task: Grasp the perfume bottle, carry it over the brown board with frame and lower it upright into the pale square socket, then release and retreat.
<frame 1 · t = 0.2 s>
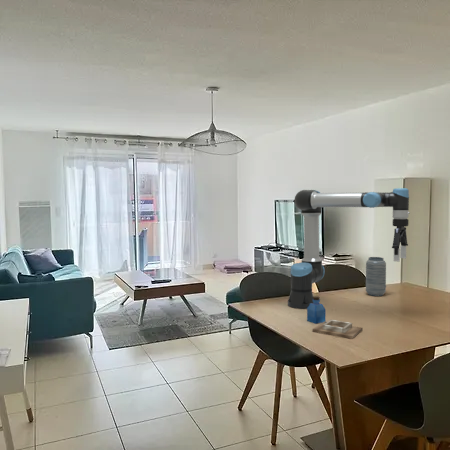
hand: (399, 259, 213), 28 cm above the table, fingers open, 13 cm apart
vase: (375, 295, 257), on the table
perfume bottle: (316, 321, 202), on the table
brown board with frame: (337, 331, 187), on the table
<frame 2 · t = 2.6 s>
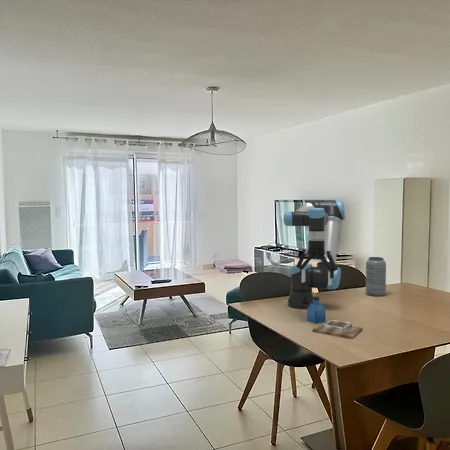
hand: (316, 283, 201), 19 cm above the table, fingers open, 13 cm apart
nothing on the table moved.
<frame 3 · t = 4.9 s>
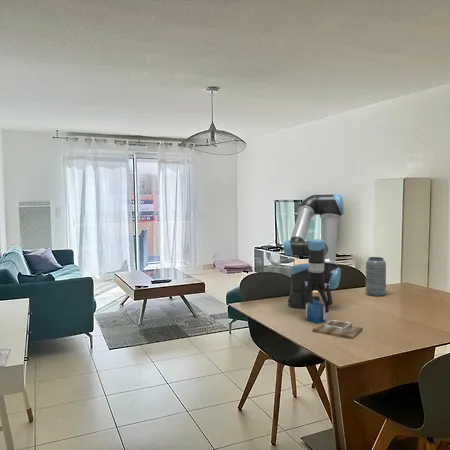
hand: (316, 317, 202), 2 cm above the table, fingers closed on perfume bottle, 8 cm apart
perfume bottle: (316, 321, 202), on the table, touching gripper
everything else where it was.
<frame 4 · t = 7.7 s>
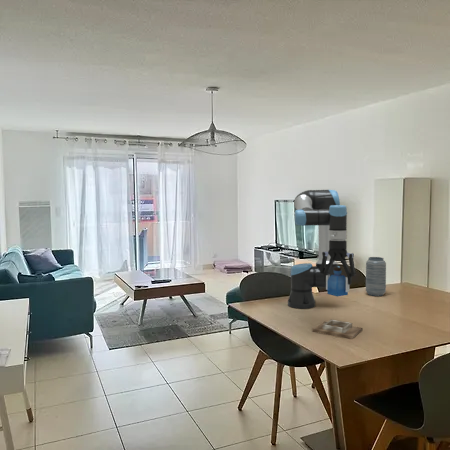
hand: (337, 290, 186), 19 cm above the table, fingers closed on perfume bottle, 8 cm apart
perfume bottle: (337, 294, 186), point 17 cm above the table, touching gripper
everything else where it was.
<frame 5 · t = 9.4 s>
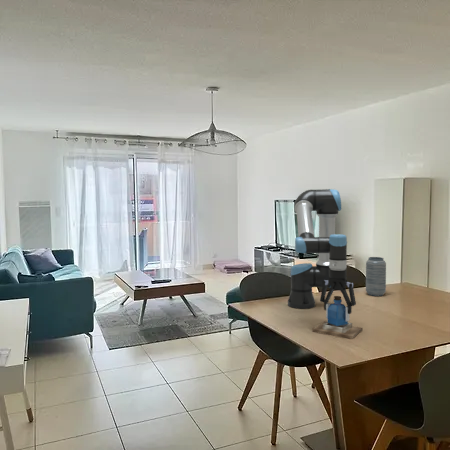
hand: (337, 319, 186), 5 cm above the table, fingers closed on perfume bottle, 8 cm apart
perfume bottle: (337, 323, 187), point 3 cm above the table, touching gripper
everything else where it was.
when the fingers open (5 cm above the table, at t = 10.4 s): perfume bottle stays where it is, resting on brown board with frame.
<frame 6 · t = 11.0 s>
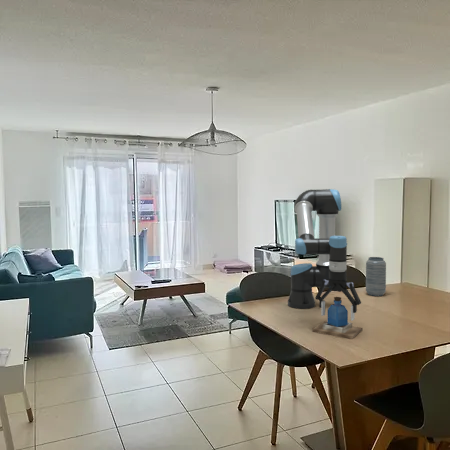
hand: (337, 317, 186), 6 cm above the table, fingers open, 13 cm apart
perfume bottle: (337, 324, 187), point 3 cm above the table, touching brown board with frame
everything else where it was.
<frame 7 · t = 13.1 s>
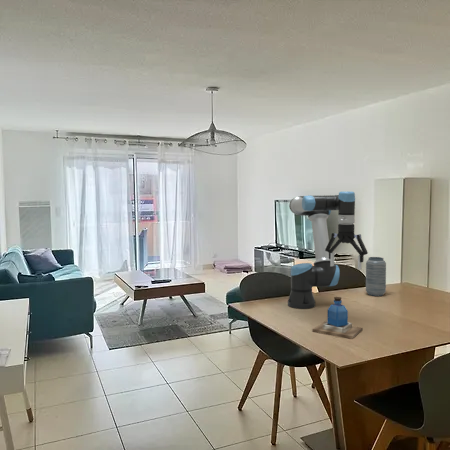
hand: (345, 267, 201), 26 cm above the table, fingers open, 13 cm apart
nothing on the table moved.
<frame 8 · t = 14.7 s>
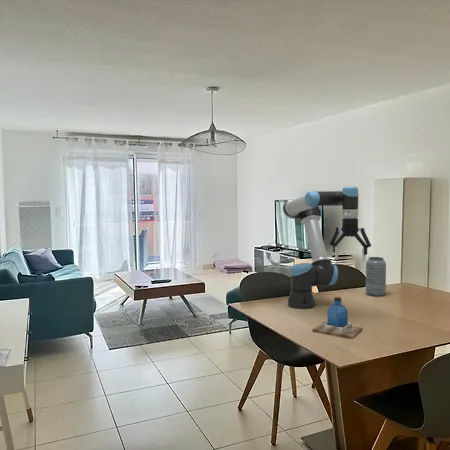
hand: (349, 260, 207), 29 cm above the table, fingers open, 13 cm apart
nothing on the table moved.
at the end: perfume bottle 0.1 cm off-centre on the brown board with frame, point 3.0 cm above the brown board with frame's base; perfume bottle tilted 0°; the gripper is holding nothing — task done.
